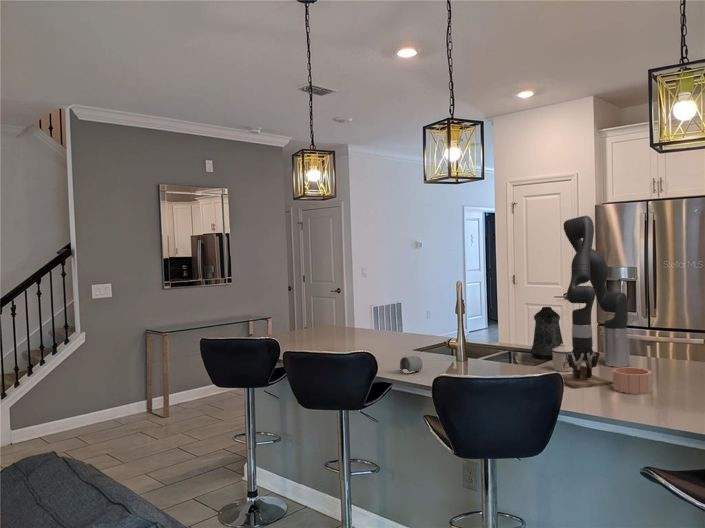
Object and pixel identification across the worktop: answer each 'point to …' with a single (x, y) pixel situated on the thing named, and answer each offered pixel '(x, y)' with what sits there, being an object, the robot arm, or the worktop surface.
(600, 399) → the worktop surface
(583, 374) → the lid
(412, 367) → the ceramic mug
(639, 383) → the bowl
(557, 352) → the teacup with lid
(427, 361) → the worktop surface
